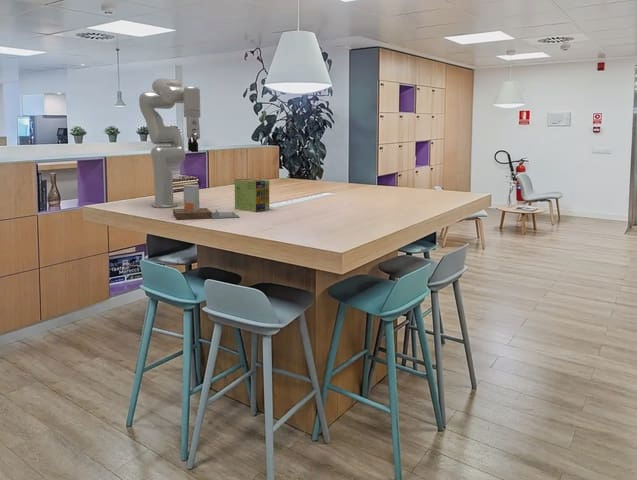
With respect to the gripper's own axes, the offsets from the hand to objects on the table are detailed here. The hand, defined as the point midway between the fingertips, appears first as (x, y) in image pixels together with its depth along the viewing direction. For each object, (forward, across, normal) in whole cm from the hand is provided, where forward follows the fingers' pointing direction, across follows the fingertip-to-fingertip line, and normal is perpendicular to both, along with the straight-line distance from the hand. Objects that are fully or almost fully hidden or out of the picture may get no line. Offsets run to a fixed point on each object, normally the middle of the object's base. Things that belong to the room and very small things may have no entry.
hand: (193, 151), depth 262 cm
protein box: (+31, +11, -31) cm, 45 cm away
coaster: (+28, -5, -13) cm, 31 cm away
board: (+30, -5, +2) cm, 31 cm away
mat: (+30, -5, -12) cm, 33 cm away
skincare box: (+28, -5, +2) cm, 28 cm away
